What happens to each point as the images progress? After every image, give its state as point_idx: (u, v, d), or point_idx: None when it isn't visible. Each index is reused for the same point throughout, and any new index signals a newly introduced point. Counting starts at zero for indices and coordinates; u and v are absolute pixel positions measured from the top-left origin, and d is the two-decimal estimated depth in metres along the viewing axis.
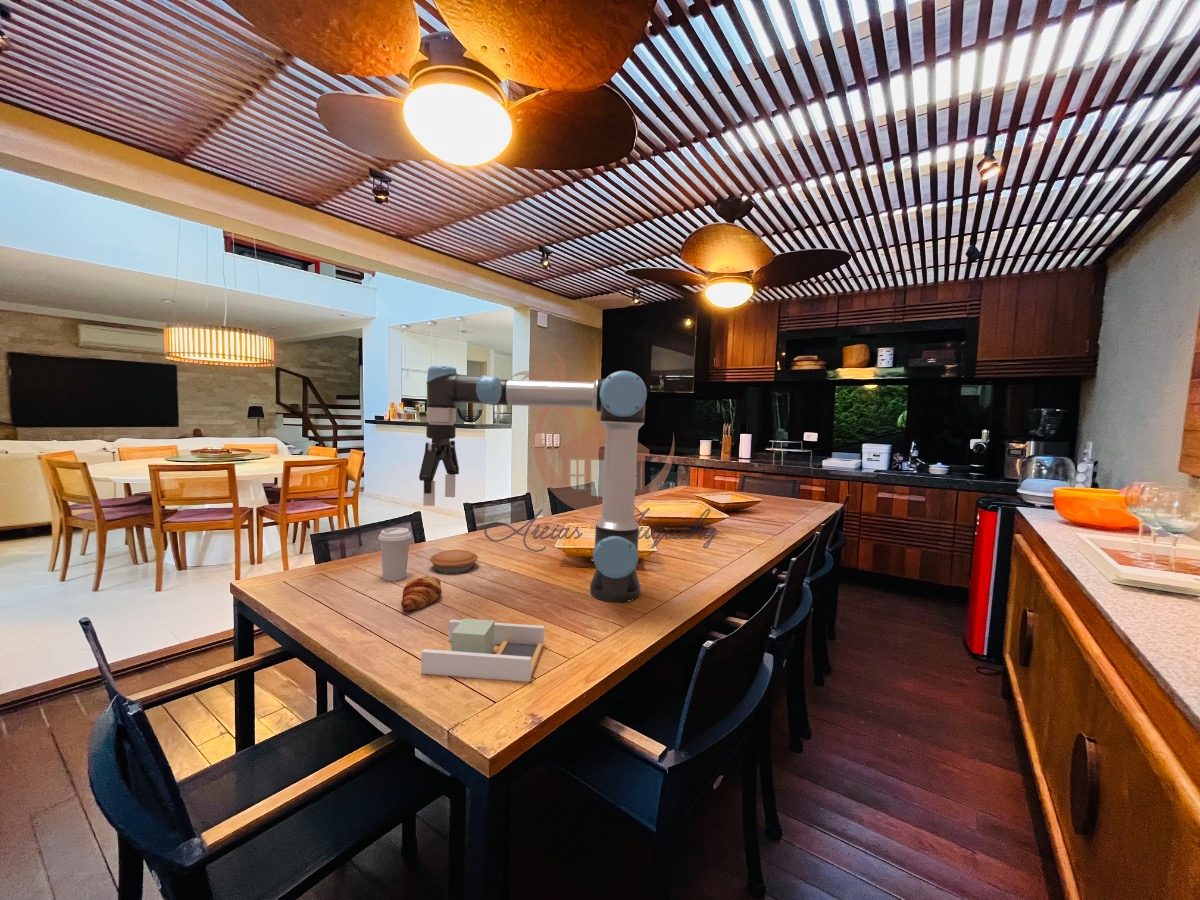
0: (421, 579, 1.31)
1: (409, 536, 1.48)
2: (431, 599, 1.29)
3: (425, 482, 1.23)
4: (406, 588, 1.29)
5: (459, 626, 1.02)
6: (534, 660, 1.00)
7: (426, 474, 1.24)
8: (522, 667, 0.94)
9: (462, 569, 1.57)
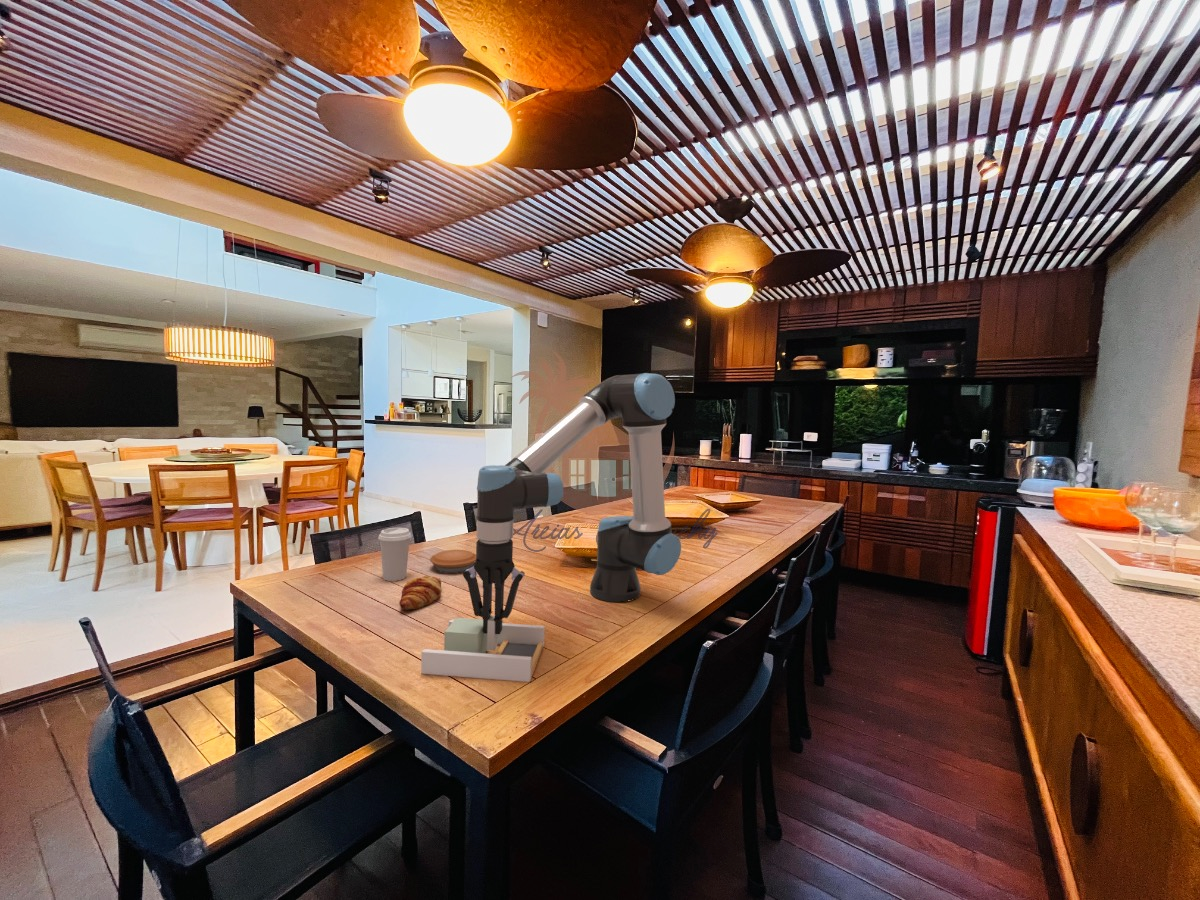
0: (420, 579, 1.31)
1: (409, 536, 1.48)
2: (430, 599, 1.29)
3: None
4: (405, 587, 1.30)
5: (452, 626, 1.02)
6: (534, 660, 1.00)
7: None
8: (522, 667, 0.94)
9: (462, 569, 1.57)
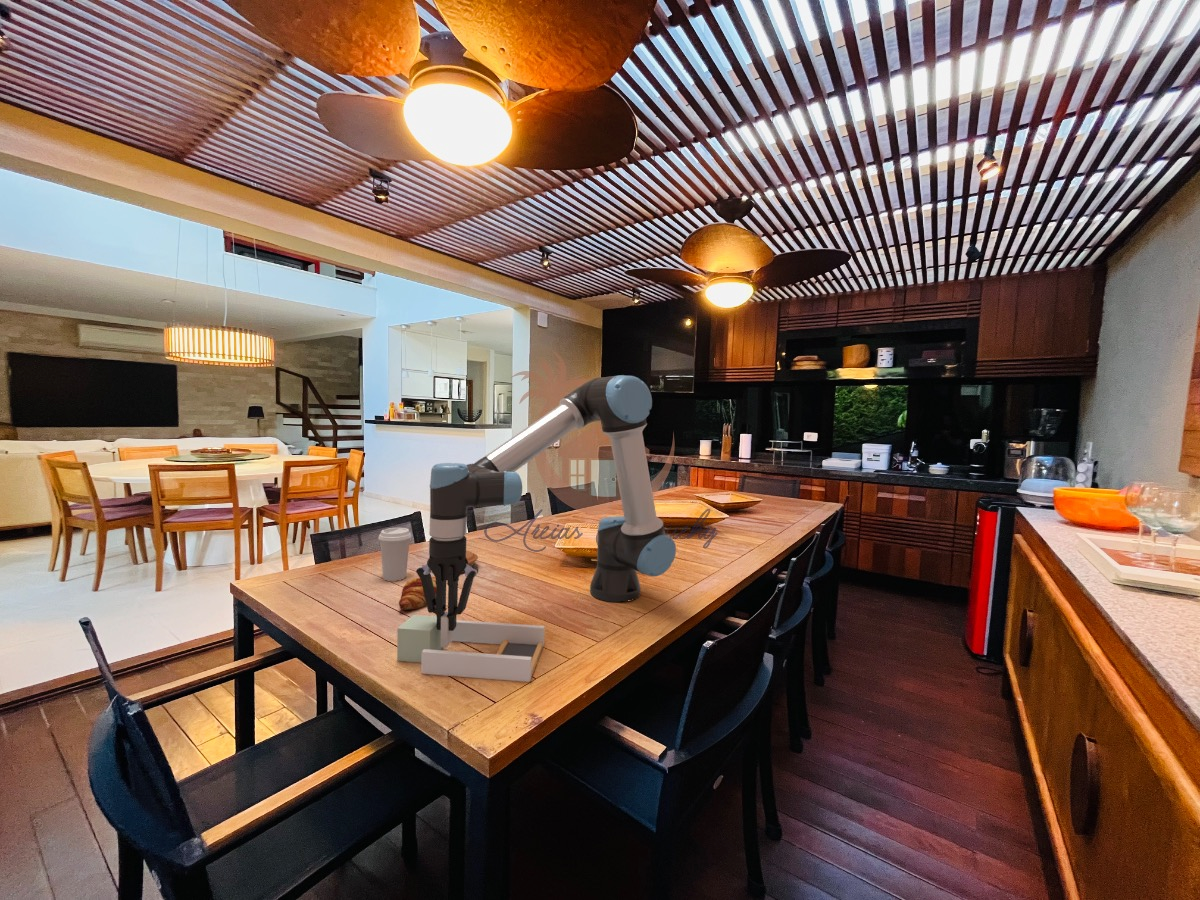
0: (420, 579, 1.31)
1: (409, 536, 1.48)
2: None
3: None
4: (405, 587, 1.30)
5: (407, 622, 1.03)
6: (534, 660, 1.00)
7: None
8: (522, 667, 0.94)
9: None
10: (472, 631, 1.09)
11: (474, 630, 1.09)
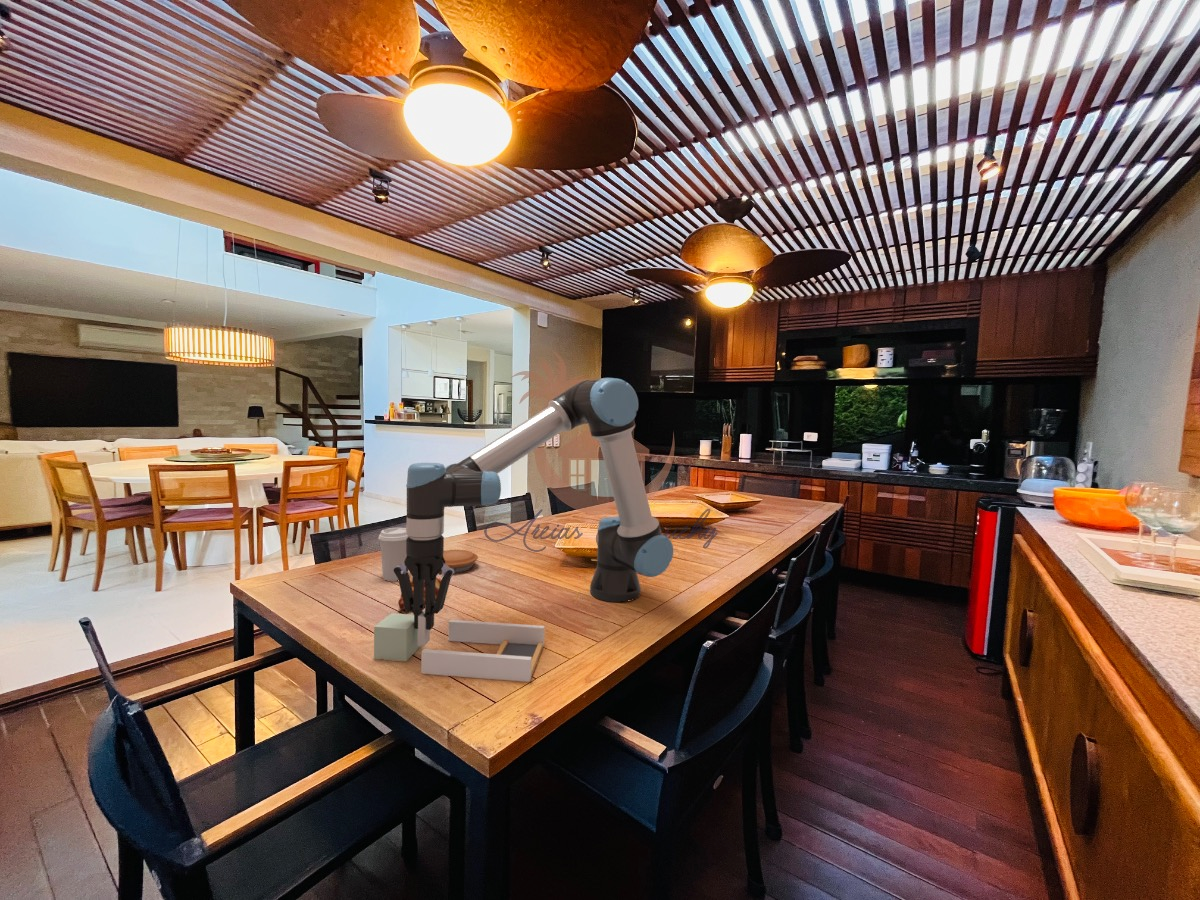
0: None
1: None
2: None
3: None
4: None
5: (384, 621, 1.03)
6: (534, 660, 1.00)
7: None
8: (522, 667, 0.94)
9: (462, 569, 1.57)
10: (472, 631, 1.09)
11: (474, 630, 1.09)
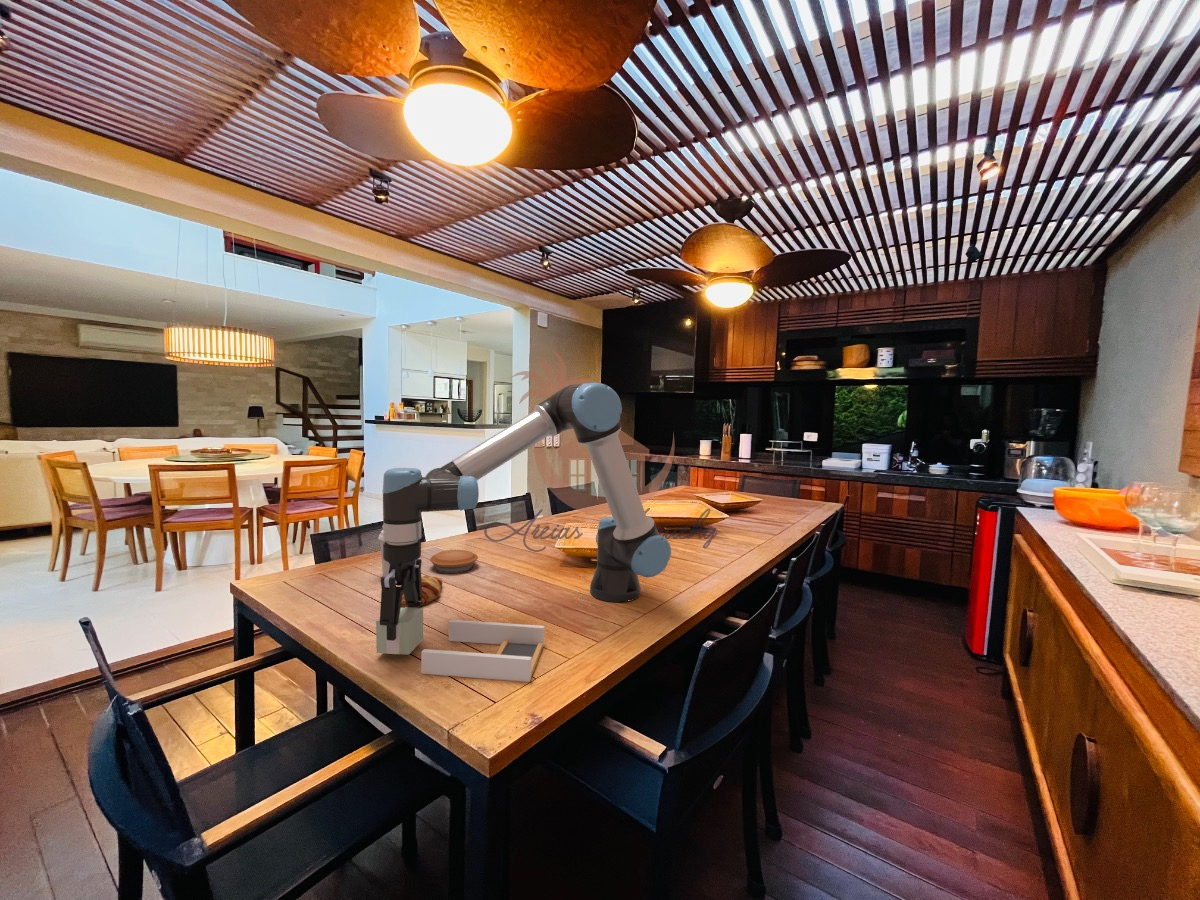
0: None
1: None
2: (427, 599, 1.29)
3: (388, 627, 0.98)
4: None
5: None
6: (534, 660, 1.00)
7: None
8: (522, 667, 0.94)
9: (462, 569, 1.57)
10: (472, 631, 1.09)
11: (474, 630, 1.09)
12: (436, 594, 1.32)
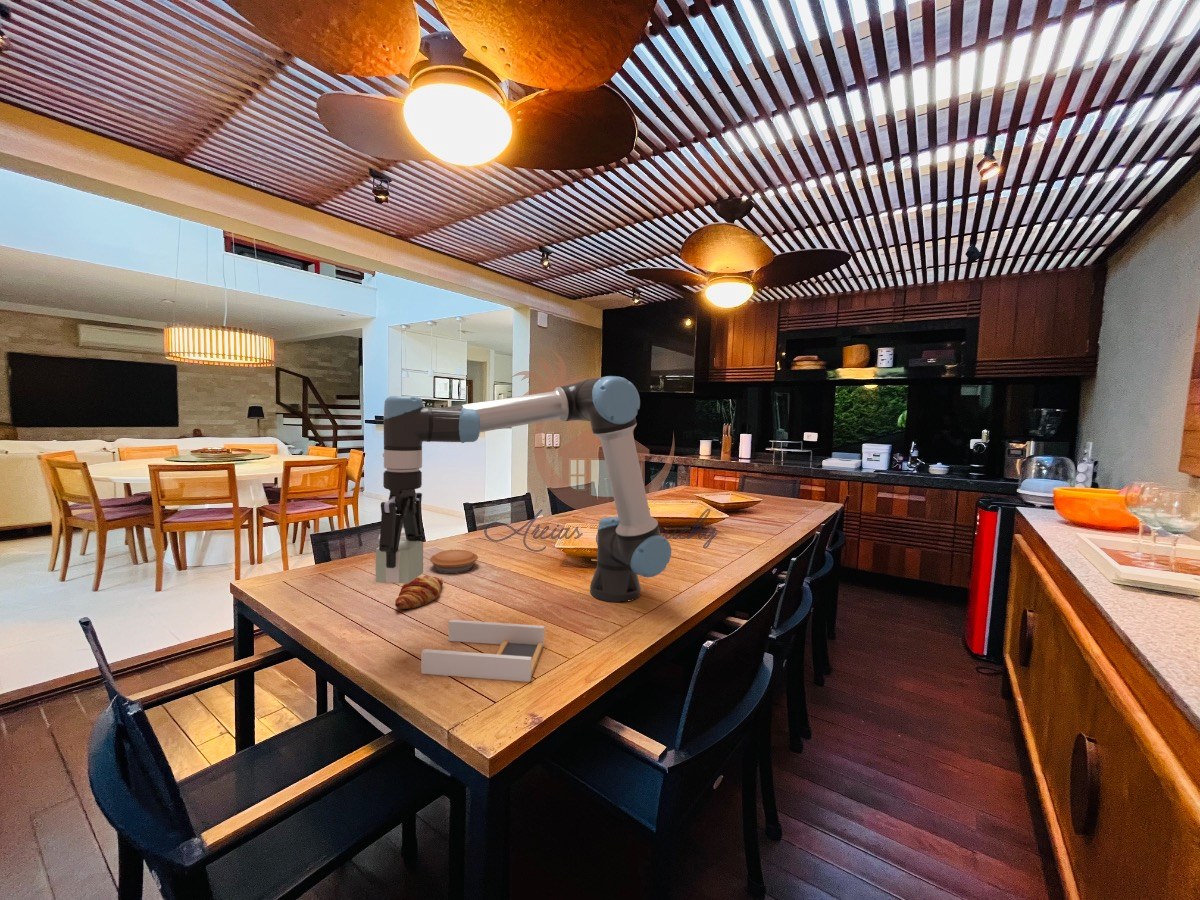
0: (418, 579, 1.31)
1: None
2: (426, 599, 1.29)
3: (387, 554, 0.97)
4: (404, 586, 1.30)
5: None
6: (534, 660, 1.00)
7: None
8: (522, 667, 0.94)
9: (462, 569, 1.57)
10: (472, 631, 1.09)
11: (474, 630, 1.09)
12: (435, 594, 1.32)
